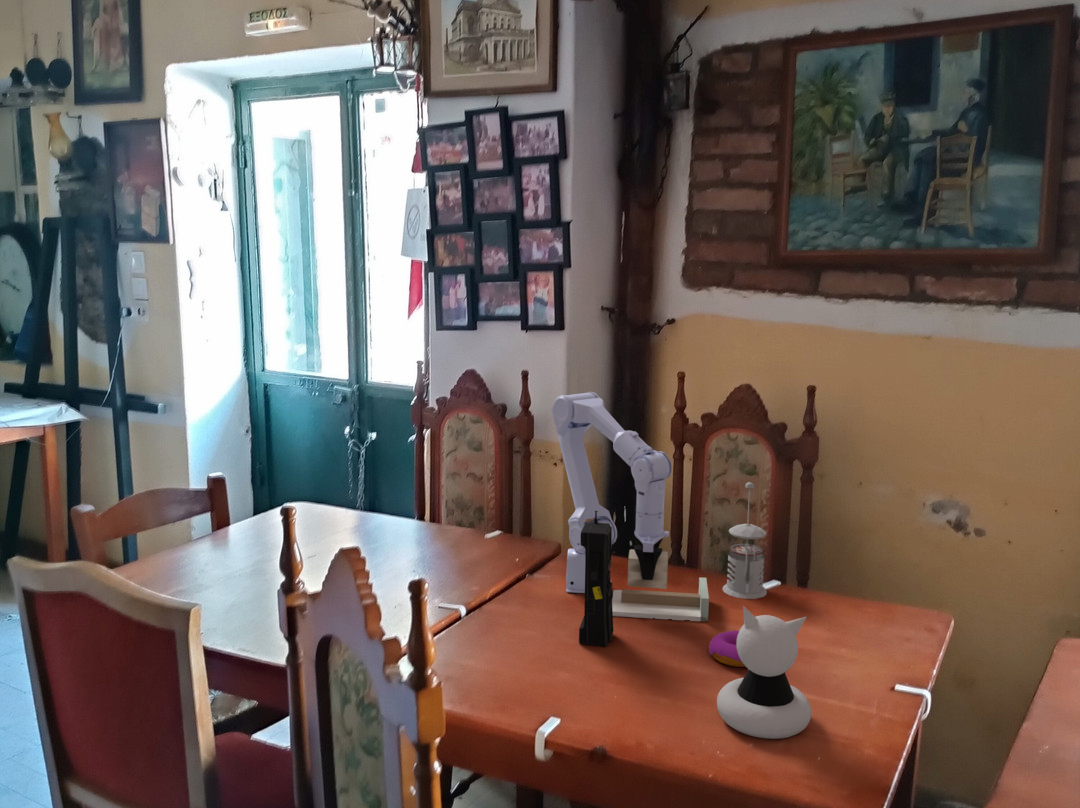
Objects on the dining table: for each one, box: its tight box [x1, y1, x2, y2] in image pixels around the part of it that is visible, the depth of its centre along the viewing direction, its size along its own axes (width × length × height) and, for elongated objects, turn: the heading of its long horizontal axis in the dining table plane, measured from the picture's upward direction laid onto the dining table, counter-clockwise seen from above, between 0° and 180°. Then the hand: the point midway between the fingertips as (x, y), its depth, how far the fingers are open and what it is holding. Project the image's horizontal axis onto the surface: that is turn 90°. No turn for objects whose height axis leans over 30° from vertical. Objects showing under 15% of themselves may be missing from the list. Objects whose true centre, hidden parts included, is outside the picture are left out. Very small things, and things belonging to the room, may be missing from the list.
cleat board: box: [612, 577, 710, 622], centre depth 189 cm, size 20×12×5 cm, turn 82°
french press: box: [722, 481, 768, 600], centre depth 196 cm, size 10×12×25 cm
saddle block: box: [627, 548, 669, 590], centre depth 185 cm, size 8×6×6 cm
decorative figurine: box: [716, 605, 812, 740], centre depth 142 cm, size 15×15×20 cm
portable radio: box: [578, 511, 615, 647], centre depth 171 cm, size 8×6×25 cm
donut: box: [708, 630, 747, 668], centre depth 165 cm, size 10×10×4 cm
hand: (647, 573), depth 185 cm, fingers closed on saddle block, 6 cm apart
